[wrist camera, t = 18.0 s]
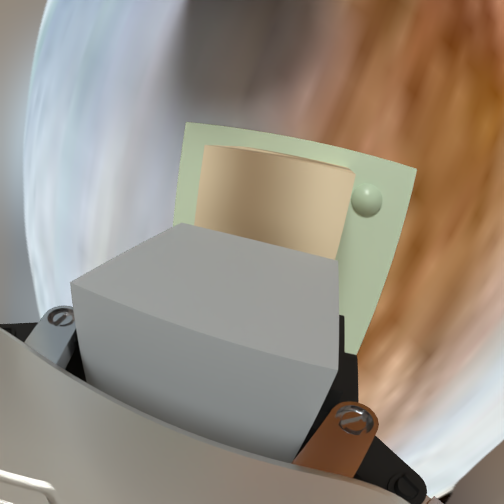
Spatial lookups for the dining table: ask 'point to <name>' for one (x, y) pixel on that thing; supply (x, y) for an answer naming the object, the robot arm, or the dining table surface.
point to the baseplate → (357, 219)
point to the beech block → (274, 198)
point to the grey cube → (214, 336)
